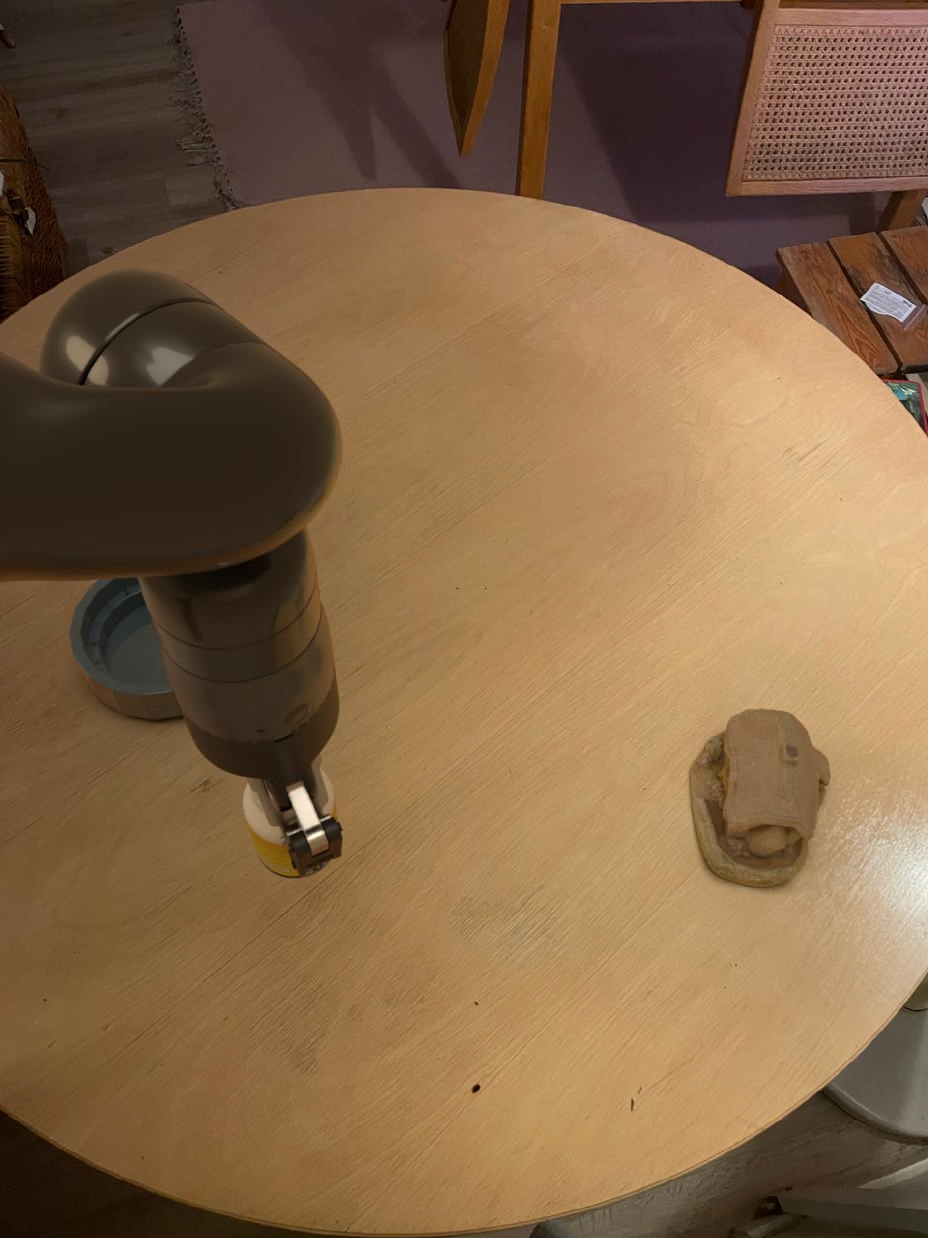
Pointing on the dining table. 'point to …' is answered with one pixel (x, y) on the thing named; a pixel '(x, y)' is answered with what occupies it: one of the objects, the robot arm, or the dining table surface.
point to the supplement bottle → (279, 835)
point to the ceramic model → (758, 797)
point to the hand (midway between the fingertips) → (289, 808)
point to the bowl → (122, 650)
